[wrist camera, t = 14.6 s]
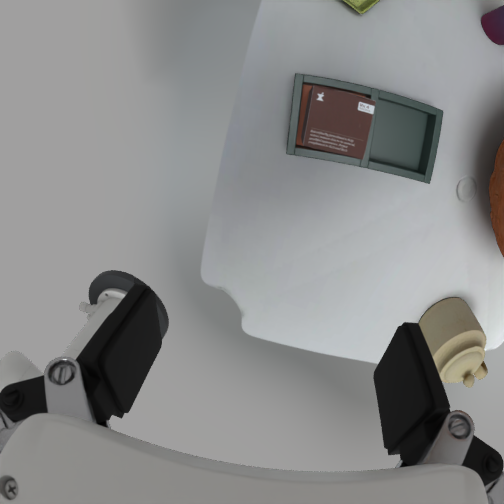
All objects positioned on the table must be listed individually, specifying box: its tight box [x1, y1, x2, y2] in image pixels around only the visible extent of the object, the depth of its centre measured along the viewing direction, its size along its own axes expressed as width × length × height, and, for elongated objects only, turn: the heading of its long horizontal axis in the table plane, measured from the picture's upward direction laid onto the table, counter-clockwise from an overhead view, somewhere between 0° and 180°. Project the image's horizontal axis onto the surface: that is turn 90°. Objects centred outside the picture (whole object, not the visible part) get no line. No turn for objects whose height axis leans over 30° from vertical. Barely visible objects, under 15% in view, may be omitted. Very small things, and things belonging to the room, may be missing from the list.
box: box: [301, 85, 376, 160], centre depth 26 cm, size 6×6×7 cm
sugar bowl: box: [419, 298, 488, 388], centre depth 34 cm, size 15×11×15 cm
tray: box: [286, 74, 443, 184], centre depth 28 cm, size 18×9×3 cm, turn 85°
